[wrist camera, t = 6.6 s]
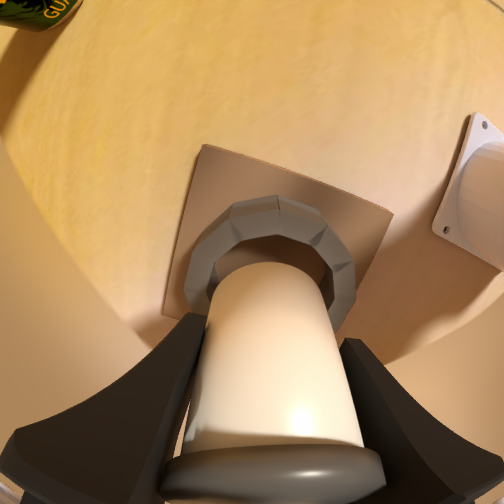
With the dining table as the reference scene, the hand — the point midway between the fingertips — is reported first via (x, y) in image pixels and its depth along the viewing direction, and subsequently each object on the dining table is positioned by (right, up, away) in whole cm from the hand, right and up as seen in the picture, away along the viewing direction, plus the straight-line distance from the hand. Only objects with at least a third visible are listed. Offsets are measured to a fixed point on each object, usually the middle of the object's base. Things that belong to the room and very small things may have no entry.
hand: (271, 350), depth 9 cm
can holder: (0, +3, +6) cm, 7 cm away
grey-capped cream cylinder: (0, +1, +2) cm, 2 cm away
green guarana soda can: (-13, +19, -1) cm, 23 cm away
